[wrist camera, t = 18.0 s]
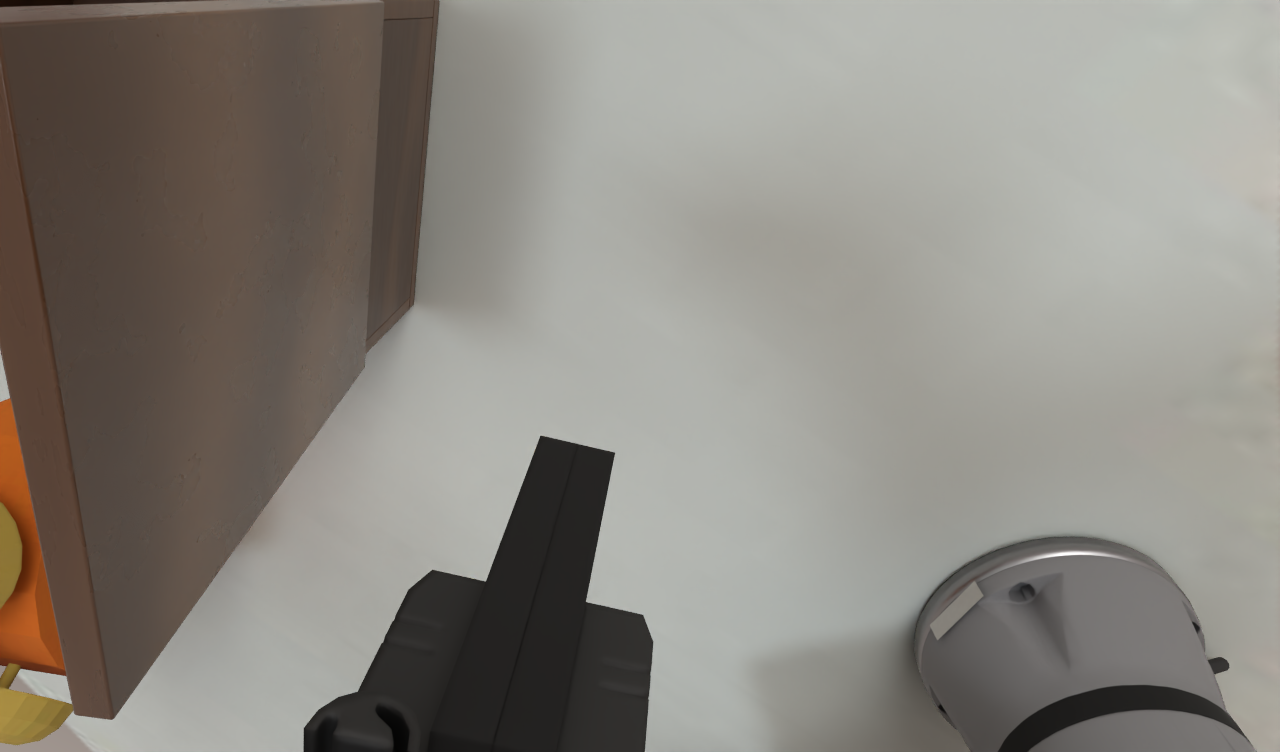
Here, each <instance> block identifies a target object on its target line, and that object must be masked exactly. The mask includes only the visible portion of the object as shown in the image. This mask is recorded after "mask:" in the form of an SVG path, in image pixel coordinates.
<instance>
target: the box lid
mask: <svg viewBox="0 0 1280 752" xmlns="http://www.w3.org/2000/svg"><path fill="white" fill-rule="evenodd" d="M383 21H384V2H383V1H380V0H216V1H183V2H151V3H119V4H86V5H54V6H22V7H0V350H1V355H2V360H3V365H4V370H5V374H6V379H7V384H8V389H9V394H10V399H11V404H12V409H13V414H14V419H15V424H16V429H17V434H18V439H19V444H20V449H21V453H22V458H23V463H24V468H25V473H26V478H27V483H28V488H29V493H30V498H31V503H32V508H33V513H34V518H35V523H36V528H37V532H38V537H39V542H40V547H41V552H42V557H43V562H44V567H45V572H46V577H47V582H48V587H49V592H50V597H51V602H52V607H53V611H54V616H55V621H56V626H57V631H58V636H59V641H60V646H61V651H62V656H63V661H64V666H65V671H66V676H67V681H68V686H69V690H70V695H71V700H72V705H73V710H74V714H75V715H79V716H87V717H94V718H102V719H109V720H112V719H114V718H115V716H116V715H117V714H118V712H119V711H120V709H121V708H122V707H123V705H124V704H125V702H126V701H127V700H128V698H129V697H130V695H131V694H132V693H133V691H134V690H135V688H136V687H137V686H138V684H139V683H140V681H141V680H142V679H143V677H144V676H145V674H146V673H147V672H148V670H149V669H150V667H151V666H152V665H153V663H154V662H155V660H156V659H157V658H158V656H159V655H160V653H161V652H162V651H163V649H164V648H165V646H166V645H167V644H168V642H169V641H170V639H171V638H172V636H173V635H174V634H175V632H176V631H177V629H178V628H179V627H180V625H181V624H182V622H183V621H184V620H185V618H186V617H187V615H188V614H189V613H190V611H191V610H192V608H193V607H194V606H195V604H196V603H197V601H198V600H199V599H200V597H201V596H202V594H203V593H204V592H205V590H206V589H207V587H208V586H209V585H210V583H211V582H212V580H213V579H214V578H215V576H216V575H217V573H218V572H219V571H220V569H221V568H222V566H223V565H224V564H225V562H226V561H227V559H228V558H229V557H230V555H231V554H232V552H233V551H234V550H235V548H236V547H237V545H238V544H239V543H240V541H241V540H242V538H243V537H244V536H245V534H246V533H247V531H248V530H249V528H250V527H251V526H252V524H253V523H254V521H255V520H256V519H257V517H258V516H259V514H260V513H261V512H262V510H263V509H264V507H265V506H266V505H267V503H268V502H269V500H270V499H271V498H272V496H273V495H274V493H275V492H276V491H277V489H278V488H279V486H280V485H281V484H282V482H283V481H284V479H285V478H286V477H287V475H288V474H289V472H290V471H291V470H292V468H293V467H294V465H295V464H296V463H297V461H298V460H299V458H300V457H301V456H302V454H303V453H304V451H305V450H306V449H307V447H308V446H309V444H310V443H311V442H312V440H313V439H314V437H315V436H316V435H317V433H318V432H319V430H320V429H321V428H322V426H323V425H324V423H325V422H326V421H327V419H328V418H329V416H330V415H331V413H332V412H333V411H334V409H335V408H336V406H337V405H338V404H339V402H340V401H341V399H342V398H343V397H344V395H345V394H346V392H347V391H348V390H349V388H350V387H351V385H352V384H353V383H354V381H355V380H356V378H357V377H358V376H359V374H360V373H361V371H362V370H363V369H364V367H365V353H366V334H367V316H368V298H369V279H370V261H371V242H372V224H373V205H374V187H375V169H376V150H377V132H378V113H379V95H380V77H381V58H382V40H383Z"/></svg>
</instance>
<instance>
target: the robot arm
mask: <svg viewBox="0 0 1280 752" xmlns="http://www.w3.org/2000/svg"><path fill="white" fill-rule="evenodd" d="M614 455H615V453H614V452H610V451H605V450H601V449H597V448H592V447H588V446H583V445H579V444H575V443H570V442H566V441H562V440H557V439H553V438H549V437H544V436H540V439H539V441H538V444H537V447H536V449H535V452H534V455H533V457H532V460H531V463H530V465H529V468H528V471H527V473H526V476H525V479H524V481H523V484H522V487H521V489H520V492H519V495H518V497H517V500H516V503H515V506H514V508H513V511H512V514H511V516H510V519H509V522H508V524H507V527H506V530H505V532H504V535H503V538H502V540H501V543H500V546H499V548H498V551H497V554H496V556H495V559H494V562H493V564H492V567H491V570H490V572H489V575H488V578H487V580H486V582H485V581H480V580H476V579H471V578H467V577H462V576H458V575H453V574H449V573H444V572H440V571H435V570H432V571H430V572H429V573H428V574H427V575H426V576H424V577H423V578H422V579H421V580H420V581H418V582H417V583H416V584H415V585H414V586H412V587H411V588H410V589H409V590H408V592H407V594H406V596H405V598H404V600H403V602H402V604H401V606H400V608H399V610H398V612H397V614H396V616H395V620H394V621H393V622H392V624H391V626H390V628H389V630H388V632H387V634H386V636H385V639H384V642H383V643H382V644H381V646H380V648H379V650H378V652H377V654H376V656H375V658H374V660H373V662H372V664H371V666H370V668H369V670H368V672H367V674H366V676H365V678H364V680H363V682H362V684H361V686H360V688H359V690H358V692H355V693H352V694H348V695H344V696H341V697H338V698H336V699H335V700H333V701H332V702H330V703H329V704H327V705H325V706H324V707H322V708H321V709H319V710H318V711H317V712H316V714H315V715H314V716H313V717H312V719H311V720H310V721H309V722H308V724H307V725H306V726H305V727H304V752H645V741H646V728H647V715H648V702H649V700H648V697H649V690H650V677H651V676H650V672H651V664H652V651H653V640H652V638H651V635H650V632H649V630H648V627H647V624H646V622H645V619H644V617H643V615H641V614H637V613H632V612H628V611H623V610H619V609H614V608H610V607H605V606H601V605H596V604H592V603H587V602H586V598H587V593H588V588H589V583H590V577H591V572H592V567H593V562H594V557H595V552H596V547H597V542H598V537H599V531H600V526H601V521H602V516H603V511H604V506H605V501H606V496H607V491H608V486H609V480H610V475H611V470H612V465H613V460H614ZM914 651H915V657H916V662H917V665H918V668H919V671H920V674H921V677H922V681H923V683H924V686H925V689H926V691H927V692H928V694H929V696H930V698H931V699H932V701H933V703H934V705H935V706H936V708H937V709H938V710H939V712H940V713H941V714H942V716H943V717H944V718H945V719H946V720H947V721H948V722H949V723H950V724H951V725H952V726H953V727H954V728H955V729H956V730H958V731H959V733H960V734H961V735H962V737H963V739H964V741H965V743H966V744H967V746H968V747H969V749H970V750H971V752H1257V751H1256V750H1255V748H1254V747H1253V746H1252V744H1251V743H1250V742H1249V740H1248V739H1247V737H1246V736H1245V735H1244V733H1243V732H1242V731H1241V729H1240V728H1239V727H1238V725H1237V724H1236V723H1235V721H1234V720H1233V719H1232V717H1231V716H1230V715H1229V713H1228V712H1227V710H1226V708H1225V705H1224V701H1223V698H1222V695H1221V692H1220V689H1219V686H1218V683H1217V681H1216V678H1215V675H1214V674H1217V673H1220V672H1223V671H1227V670H1228V669H1229V663H1228V662H1227V660H1225V659H1224V658H1222V657H1218V658H1214V659H1211V660H1207V657H1206V655H1205V641H1204V635H1203V632H1202V629H1201V625H1200V622H1199V620H1198V617H1197V615H1196V613H1195V612H1194V609H1193V607H1192V605H1191V603H1190V601H1189V600H1188V599H1187V597H1186V596H1185V594H1184V593H1183V592H1182V590H1181V589H1180V588H1179V587H1178V586H1177V584H1176V583H1175V582H1174V581H1173V579H1172V578H1171V577H1170V576H1169V575H1168V573H1167V572H1166V571H1165V570H1164V569H1163V568H1162V567H1161V566H1159V565H1158V564H1157V563H1156V562H1155V561H1153V560H1152V559H1150V558H1149V557H1147V556H1146V555H1144V554H1142V553H1140V552H1138V551H1136V550H1134V549H1132V548H1129V547H1126V546H1124V545H1121V544H1117V543H1114V542H1110V541H1105V540H1100V539H1094V538H1085V537H1054V538H1045V539H1038V540H1033V541H1027V542H1023V543H1019V544H1016V545H1012V546H1009V547H1006V548H1003V549H1000V550H997V551H995V552H993V553H990V554H988V555H986V556H984V557H982V558H980V559H978V560H976V561H974V562H972V563H971V564H969V565H968V566H966V567H964V568H963V569H961V570H960V571H959V572H957V573H956V574H955V575H953V576H952V577H951V578H950V579H949V580H947V581H946V582H945V583H944V584H943V585H942V586H941V587H940V588H939V589H938V590H937V591H936V592H935V594H934V595H933V596H932V598H931V599H930V600H929V602H928V603H927V605H926V606H925V608H924V610H923V612H922V614H921V616H920V618H919V621H918V624H917V627H916V632H915V638H914Z"/></svg>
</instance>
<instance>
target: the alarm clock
mask: <svg viewBox="0 0 1280 752" xmlns="http://www.w3.org/2000/svg"><path fill="white" fill-rule="evenodd" d="M0 665H2V666H7V667H6V669H5V671H4V673H3V674H2V676H1V678H0V743H6V744H13V745H20V744H25V743H30V742H35V741H40V740H41V739H43V738H45V737H46V736H48V735H49V734H51V733H52V732H54V731H56V730H57V729H59V727H60V726H61V725H62V724H63V722H64V721H65V720H66V719H67V718H68V716H69V715H70V714H71V713H72V711H73V705H72V704H69V703H66V702H62V701H58V700H54V699H51V698H46V697H42V696H37V695H33V694H29V693H24V692H19V691H14V690H9V687H10V686H11V684H12V682H13V680H14V678H15V677H16V675H17V673H18V671H19V670H20V669H26V670H32V671H39V672H45V673H51V674H57V675H63V676H66V671H65V666H64V661H63V656H62V651H61V646H60V641H59V636H58V631H57V626H56V621H55V616H54V611H53V607H52V602H51V597H50V592H49V587H48V582H47V577H46V572H45V567H44V562H43V557H42V552H41V547H40V542H39V537H38V532H37V528H36V523H35V518H34V513H33V508H32V503H31V498H30V493H29V488H28V483H27V478H26V473H25V468H24V463H23V458H22V453H21V449H20V444H19V439H18V434H17V429H16V424H15V419H14V414H13V409H12V404H11V399H7V400H5V401H2V402H0Z"/></svg>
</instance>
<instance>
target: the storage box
mask: <svg viewBox="0 0 1280 752" xmlns="http://www.w3.org/2000/svg"><path fill="white" fill-rule="evenodd" d="M183 1H216V0H0V7H22V6H54V5H86V4H119V3H151V2H183ZM380 1H383V2H384V21H383V40H382V58H381V77H380V95H379V113H378V132H377V150H376V169H375V187H374V205H373V224H372V242H371V261H370V279H369V298H368V316H367V334H366V353H367V352H368V351H369V350H370V349H371V348H372V347H373V346H374V345H375V344H376V343H377V342H378V341H379V340H380V339H381V338H382V337H383V335H384V334H385V333H386V332H387V331H388V330H389V329H390V328H391V327H392V326H393V325H394V324H395V323H396V322H397V321H398V320H399V319H400V318H401V317H402V316H403V315H404V314H405V313H406V312H407V311H408V310H409V309H410V308H411V307H412V306H413V304H414V293H415V282H416V270H417V258H418V247H419V235H420V223H421V211H422V200H423V188H424V176H425V164H426V153H427V141H428V129H429V118H430V106H431V94H432V82H433V71H434V59H435V47H436V35H437V24H438V12H439V0H380ZM366 353H365V354H366Z"/></svg>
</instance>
